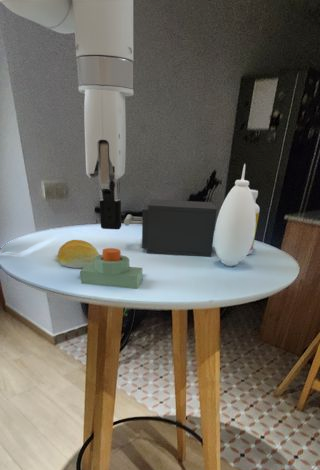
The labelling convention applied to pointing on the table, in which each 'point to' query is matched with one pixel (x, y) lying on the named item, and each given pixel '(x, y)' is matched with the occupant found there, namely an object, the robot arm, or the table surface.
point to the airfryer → (180, 227)
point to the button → (111, 254)
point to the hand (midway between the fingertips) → (111, 227)
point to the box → (111, 273)
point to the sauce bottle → (235, 224)
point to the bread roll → (76, 254)
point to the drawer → (144, 223)
